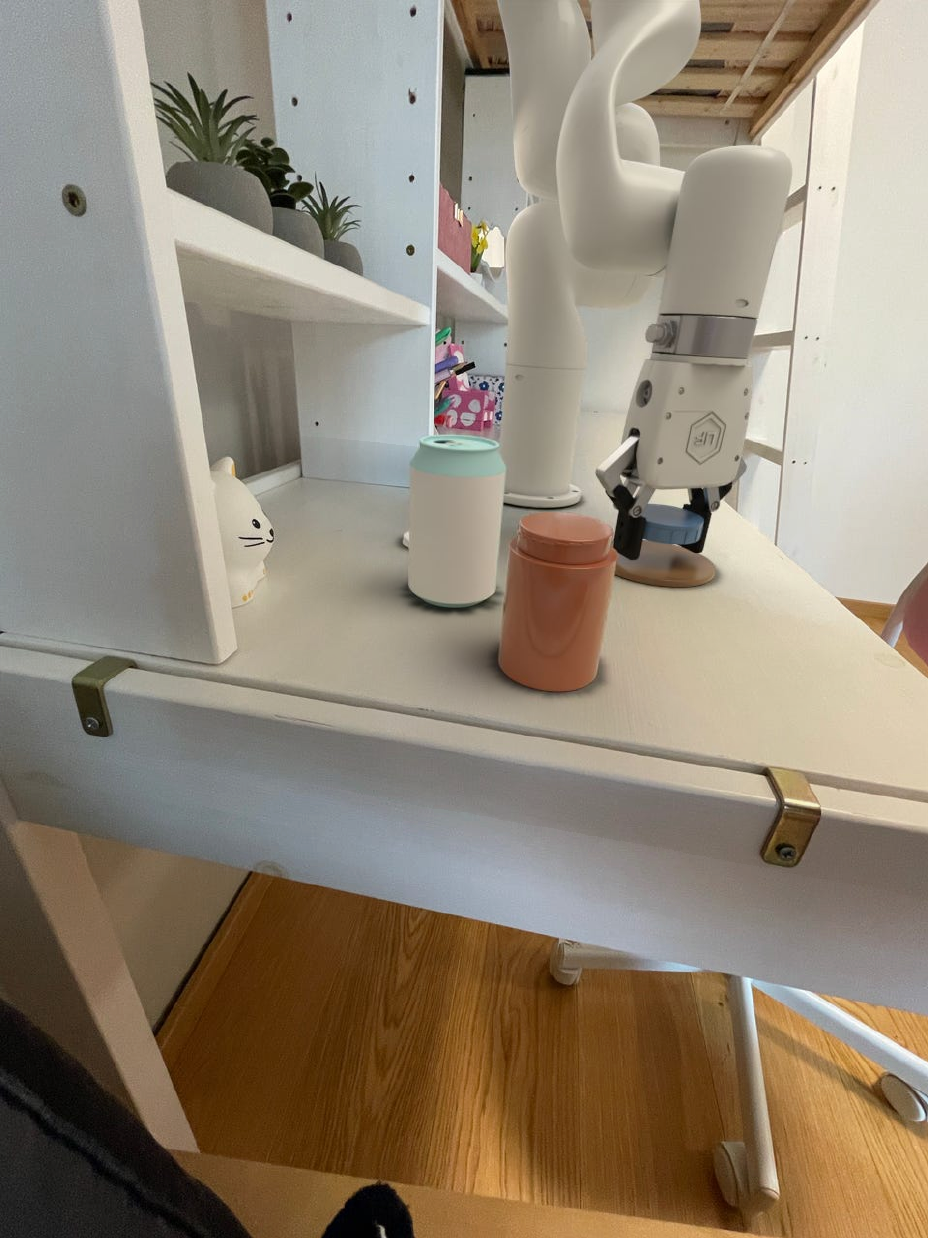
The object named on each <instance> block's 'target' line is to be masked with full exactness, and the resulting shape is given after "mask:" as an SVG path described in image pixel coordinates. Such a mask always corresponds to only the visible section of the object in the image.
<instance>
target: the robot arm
mask: <svg viewBox="0 0 928 1238" xmlns="http://www.w3.org/2000/svg"><path fill="white" fill-rule="evenodd" d="M496 2H497V7H498V12H499V16H500V19H501V20H500V21H501V25H502V28H503V33H504V37H505V43H506V47H507V54H508V62H509V63H508V64H509V81H510V82H509V87H510V105H511V106H510V107H511V123H512V143H513V155H514V168H515V172H516V177H517V180H518V183H519V185H520V186H521V188H522V189H523V190H524V192H526V193H528V194H529V195H531V196H533V197H536V198H539V199H545V200H546V201H539V202H536V203H533V204H530V205H528V206H526V207H525V208H524V209H522V210H521V211H520V212H518V213H517V215H516V216H515V218H514V219H513V221H512V223H511V225H510V227H509V229H508V233H507V236H506V241H505V254H504V256H505V258H504V259H505V274H506V287H507V288H506V289H507V314H508V315H507V339H506V341H507V342H506V352H505V353H506V354H505V370H504V381H503V382H504V383H503V393H502V394H503V395H502V406H501V420H500V430H499V431H500V432H499V442H498V444H499V449H498V452H499V454H500V456H501V458H502V460H503V462H504V464H505V466H506V477H505V489H504V500H503V504H508V505H513V506H519V507H520V506H521V507H526V508H527V507H528V508H540V509H541V508H542V509H543V508H545V509H547V508H549V509H550V508H551V509H552V508H553V509H554V508H564V507H570V506H573V505H576V504H577V503H579V502H580V501H581V497H582V491H581V489H580V488H579V487H578V486H577V485H574V484H573V483H571V481H572V475H573V474H572V473H573V467H574V466H573V465H574V458H575V452H576V445H577V444H576V443H577V436H578V430H579V423H580V422H579V421H580V414H581V409H582V408H581V407H582V400H583V393H584V386H585V378H586V371H587V362H588V354H589V353H588V339H587V335H586V331H585V328H584V326H583V323H582V320H581V318H580V315H579V312H578V309H577V308H578V307H585V308H586V307H587V308H599V309H610V310H611V309H612V310H623V309H628V308H631V307H634V306H637V304H639V303H641V302H642V301H643V300H645V298H646V296H647V295H648V293H649V292H650V291H651V289H652V287H653V285H654V282H655V280H656V278H663V283H662V284H663V285H662V290H661V295H660V304H659V307H658V313H657V314H658V315H657V318H656V322H655V323H650V324H649V325H648V326H647V328H646V330H645V334H644V335H645V337H644V338H645V341H646V342H647V343H650V344H652V347H651V352H650V358H644V361H643V364H642V366H641V369H640V371H639V374H638V377H637V380H636V382H635V386H634V390H633V392H632V396H631V399H630V403H629V406H628V409H627V414H626V418H625V423H624V427H623V431H622V436H621V441H620V445H619V446H618V447H617V448H616V449H615V450H614V451H613V452H612V453H611V454H610V455H608V457H607V458H605V460H603V462H601V463H600V464H599V465H598V466H597V467H596V469H595V472H594V473H595V476H596V478H597V480H598V481H599V483H600V484H601V486H602V487H603V489H604V490H605V494H606V495H607V497H608V498H609V500H610V501H611V502H612V506H613V508H614V510H617V511H618V512H617V518H616V523H615V529H614V532H613V539H612V541H613V542H614V543H613V548H614V549H615V550H616V551H617V553H619V554H620V555H622V556H624V557H626V558H627V559H629V560H637V559H638V558H639V556H640V551H641V546H642V541H643V540H644V539H643V536H644V531H645V526H646V518H645V517H643V516H641V514H642V513H643V511H644V509H645V507H646V506H647V504H649V502H650V500H651V499H652V497H653V495H654V493H655V492H656V490H659V491H660V490H662V491H663V490H684V489H685V490H687V494H688V501H689V503H683V506H682V507H681V508H682V509H686V510H689V511H691V512H694V513H696V514H698V515H700V516H701V517H702V518H703V519H704V523H703V531H702V535H701V538H700V539H699V540H698V541H697V542H695V543H691V544H682V545H678V546H680V547H683V548H685V549H687V550H689V551H691V552H693V553H699V554H701V553H703V551H704V547H705V543H706V540H707V535H708V531H709V527H710V523H711V518H712V515H713V513H716V512H717V511H718V510H719V509H720V507H721V501H722V500H723V499H724V498H725V497H726V496H727V495H728V494H729V493H730V492H731V491H732V488H733V485H735V484H736V483H737V481H738V480H740V479H741V477H742V476H743V475H744V474H745V473H746V471H747V467H748V466H747V464H746V462H745V460H744V458H743V457H742V455H743V452H744V447H745V441H746V438H747V431H748V426H749V419H750V413H751V406H752V398H753V385H754V365H750V364H748V360H749V357H750V354H751V349H752V345H753V340H754V337H755V333H756V328H757V326H758V325H757V324H758V319H759V315H760V311H761V307H762V304H763V300H764V299H763V298H764V295H765V291H766V288H767V283H768V279H769V275H770V271H771V266H772V263H773V258H774V254H775V250H776V245H777V241H778V238H779V234H780V229H781V227H782V222H783V217H784V214H785V209H786V205H787V201H788V199H789V194H790V189H791V185H792V179H793V164H792V162H791V159H790V158H789V156H788V155H787V154H786V152H783V151H782V150H780V149H776V148H774V147H769V146H764V145H754V144H753V145H752V144H750V145H749V144H746V145H744V144H742V145H731V146H723V147H718V148H714V149H711V150H708V151H706V152H704V153H703V152H702V153H701V154H699V155H698V156H697V157H695V158H694V159H693V160H692V161H691V162H690V163H689V165H688V166H687V168H686V170H685V171H683V170H679V169H676V168H671V167H665V166H661V148H660V147H661V146H660V145H661V144H660V138H659V134H658V130H657V127H656V124H655V121H654V120H653V118H652V117H651V115H650V114H649V113H648V111H647V110H646V109H645V108H643V107H642V106H640V105H638V104H636V103H633V102H635V101H637V100H640V99H643V98H645V97H647V96H649V95H651V94H652V93H654V92H657V91H658V90H660V89H661V88H663V87H664V86H666V85H667V84H668V83H670V82H671V81H672V80H673V79H674V78H675V77H677V75H679V74H680V72H681V71H682V70H683V69H684V68H685V67H686V65H687V64H688V62H689V61H690V59H691V58H692V56H693V54H694V52H695V50H696V48H697V45H698V43H699V40H700V39H699V38H700V35H701V30H702V13H701V5H700V0H588V2H589V11H590V21H591V34H592V42H593V50H594V51H593V52H594V55H593V57H592V46H591V45H592V44H591V43H592V42H591V37H590V33H589V28H588V25H587V22H586V19H585V15H584V13H583V11H582V8H581V5H580V3H579V1H578V0H496ZM621 477H623V478H625V480H624V482H623V480H622V478H621ZM638 487H639V489H638ZM636 491H637V492H636ZM635 493H636V494H635ZM634 495H635V496H634Z"/></svg>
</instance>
